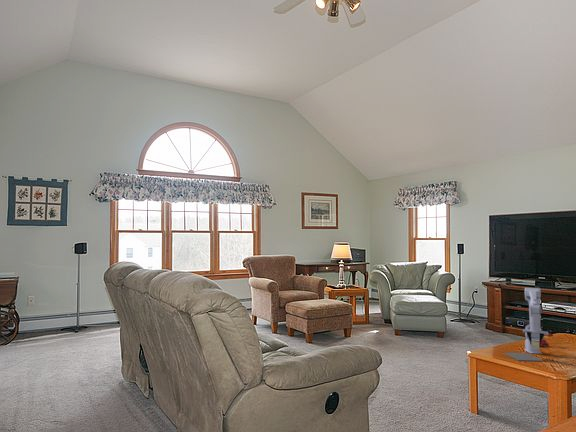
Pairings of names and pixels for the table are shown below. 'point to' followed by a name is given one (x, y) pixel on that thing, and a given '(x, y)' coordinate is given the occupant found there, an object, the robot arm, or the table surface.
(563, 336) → the table surface
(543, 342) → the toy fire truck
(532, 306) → the robot arm
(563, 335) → the table surface
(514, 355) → the charcoal rubber mat
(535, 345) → the birch card box
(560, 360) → the table surface
